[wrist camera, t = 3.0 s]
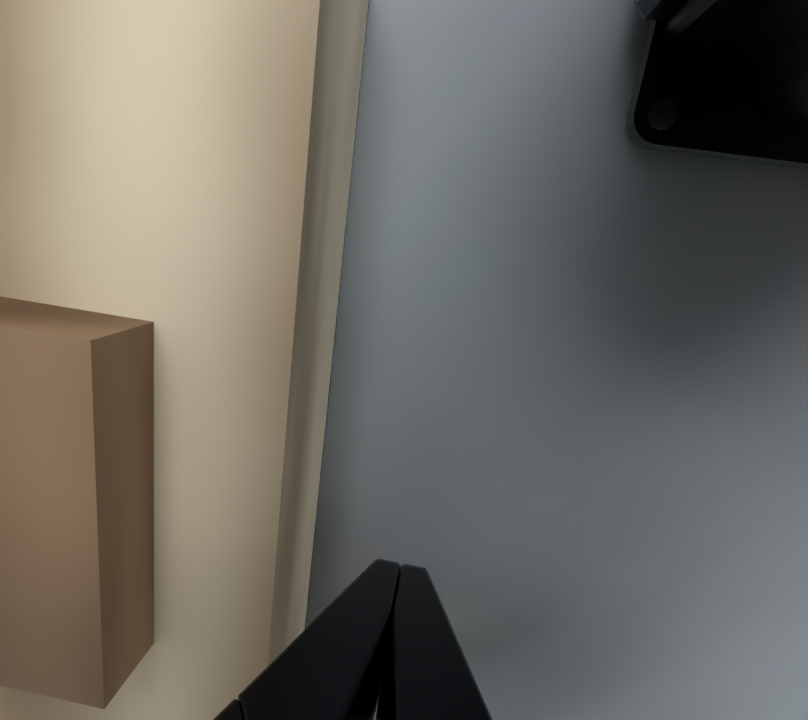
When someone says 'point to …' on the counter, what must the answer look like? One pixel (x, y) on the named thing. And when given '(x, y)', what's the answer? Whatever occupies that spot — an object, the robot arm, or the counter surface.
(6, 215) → the board
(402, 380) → the counter surface
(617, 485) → the counter surface
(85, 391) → the walnut coaster
